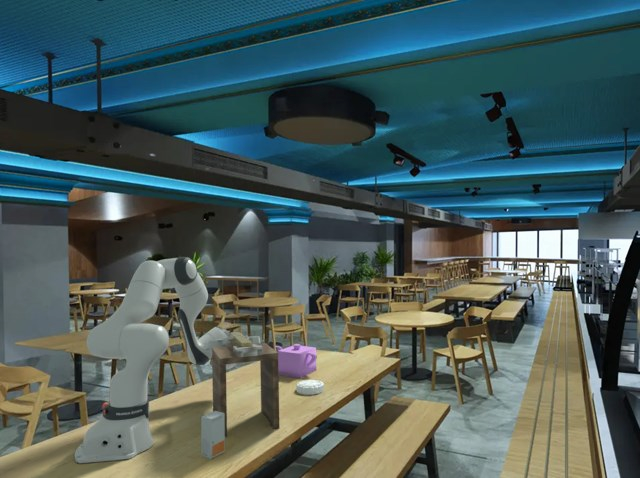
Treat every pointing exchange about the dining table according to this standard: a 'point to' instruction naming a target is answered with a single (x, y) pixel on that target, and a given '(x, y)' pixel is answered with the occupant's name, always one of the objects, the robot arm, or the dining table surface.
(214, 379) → the stand
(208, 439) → the skincare box
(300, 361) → the teapot
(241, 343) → the bar
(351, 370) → the dining table surface
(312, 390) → the mooncake
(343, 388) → the dining table surface
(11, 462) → the dining table surface
